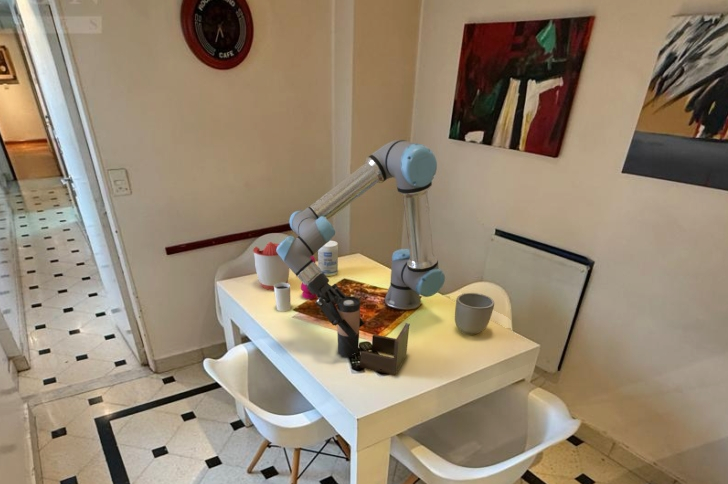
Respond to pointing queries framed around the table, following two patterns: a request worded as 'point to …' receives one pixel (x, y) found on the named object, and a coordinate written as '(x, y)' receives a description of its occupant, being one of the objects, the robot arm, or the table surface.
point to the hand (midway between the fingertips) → (357, 330)
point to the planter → (473, 312)
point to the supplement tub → (328, 258)
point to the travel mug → (351, 315)
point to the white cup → (282, 296)
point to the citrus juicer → (270, 266)
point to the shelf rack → (386, 346)
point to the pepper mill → (306, 292)
